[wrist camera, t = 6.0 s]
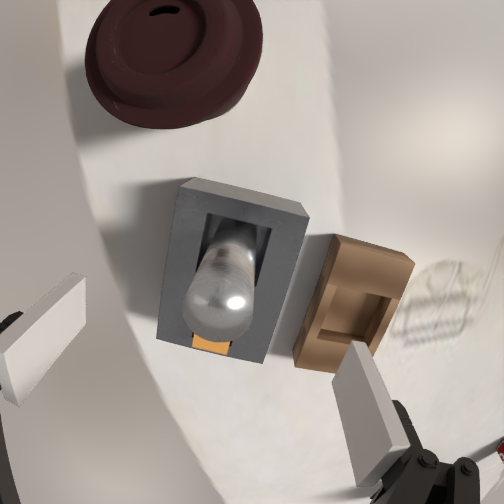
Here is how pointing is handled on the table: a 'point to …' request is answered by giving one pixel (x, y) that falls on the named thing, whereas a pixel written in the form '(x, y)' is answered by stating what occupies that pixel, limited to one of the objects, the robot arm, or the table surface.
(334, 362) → the wooden crate
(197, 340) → the key
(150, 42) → the coffee cup
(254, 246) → the peg
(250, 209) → the socket block
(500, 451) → the soda can
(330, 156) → the table surface
